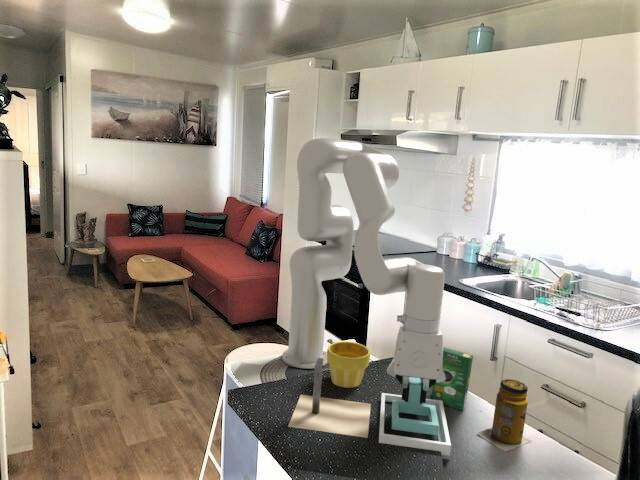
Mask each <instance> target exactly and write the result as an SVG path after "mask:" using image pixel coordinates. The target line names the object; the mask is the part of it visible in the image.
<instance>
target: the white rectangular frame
mask: <svg viewBox="0 0 640 480" xmlns="http://www.w3.org/2000/svg"><path fill="white" fill-rule="evenodd" d="M393 400H397V401H405V400H402V394H395V393H393V394H392V393H385V392H381V398H380V414H379V428H378V429H379V432H378V443H379V444H387V445H394V446H399V447H407V448H412V449H413V448H414V449H422V450H427V451H434V452H440V455H441V459H442V460H449V461H450V458H451V451H452V442H451V437H450V433H449V428H448V422H447V417H446V414H445V413H446V412H445V407H444V404H443V402H442V401H441V400H433V399H432V398H426V402H425V403H422V404H428V405H435V407H436V413H437V418H438V423H439V431H438V435H437V436H438V440H430V439H425V438H417V437H410V436H409V437H408V436H403V435H396V434H389V433H385V414H386V413H385V408H386V407H385V406H386V402H389V403H392V402H393Z"/></svg>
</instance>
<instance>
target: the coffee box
mask: <svg viewBox="0 0 640 480" xmlns="http://www.w3.org/2000/svg"><path fill="white" fill-rule="evenodd" d="M473 358H474V355H473V354H470V353H467V352H462V351H459V350H455V349H453V348H452V349H451V348H448V347H445V346H443V365H442V368H443V371H444V374H445V377H446V380H445V381H442V382H439V383H436V384H434V385H433V386H431V387H432V388H431V394H430V396H431V399H433V400H441V401H442V402H443V406H444V405H445V406H447V407H451V408H453V409H455V410H460V411H464V410H465V407H466V404H467V397H468V392H469V384H470V380H471V379H470V378H471V373H472V365H473Z"/></svg>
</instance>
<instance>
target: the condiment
mask: <svg viewBox="0 0 640 480" xmlns="http://www.w3.org/2000/svg"><path fill="white" fill-rule="evenodd" d="M499 383H500V387H499V389H498V392H497V394H496V399H495V404H494V405H495V407H494V412H493V420H492V427H490V428H486V429H484V430H482V431H481V430H480V431H478V432H476V434H477V435H479V437H481V438H482V439H484V440H485V441H487V442H489V443H490V444H492V445H493V446H495V447H496V448H498V449H499V450H502V451H504V452H508V451H511V450H513V449H515V448H517V447H521V446H523V445H526V444H527V443H530V442H531V441H532V440H530V439H528V438H527V437H525V436H524V429H525V423H526V415H527V409H528V403H529V402H528V398H527V397H528V389H529V388H528V386H527V385H526V384H525V383H523V382H522V381H520V380H516V379H510V378H507V379H502V380H501V382H499Z"/></svg>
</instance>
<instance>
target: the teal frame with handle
mask: <svg viewBox="0 0 640 480" xmlns="http://www.w3.org/2000/svg"><path fill="white" fill-rule="evenodd" d="M408 382H409V398H408V402H405V401H397V400H393V402H391V430H395V431H403V432H409V433H416V434H426V435H432V436H438V431H439V423H438V418H437V413H436V407H435V405H428V404H420V394H421V383H422V379H421V378H414V377H409V381H408ZM399 413H401V414H402V413H403V414H411V415H417V416H425V417H428V419H429V421H426V420H418V419H411V418H403V417H400V416H399V415H400V414H399Z"/></svg>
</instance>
